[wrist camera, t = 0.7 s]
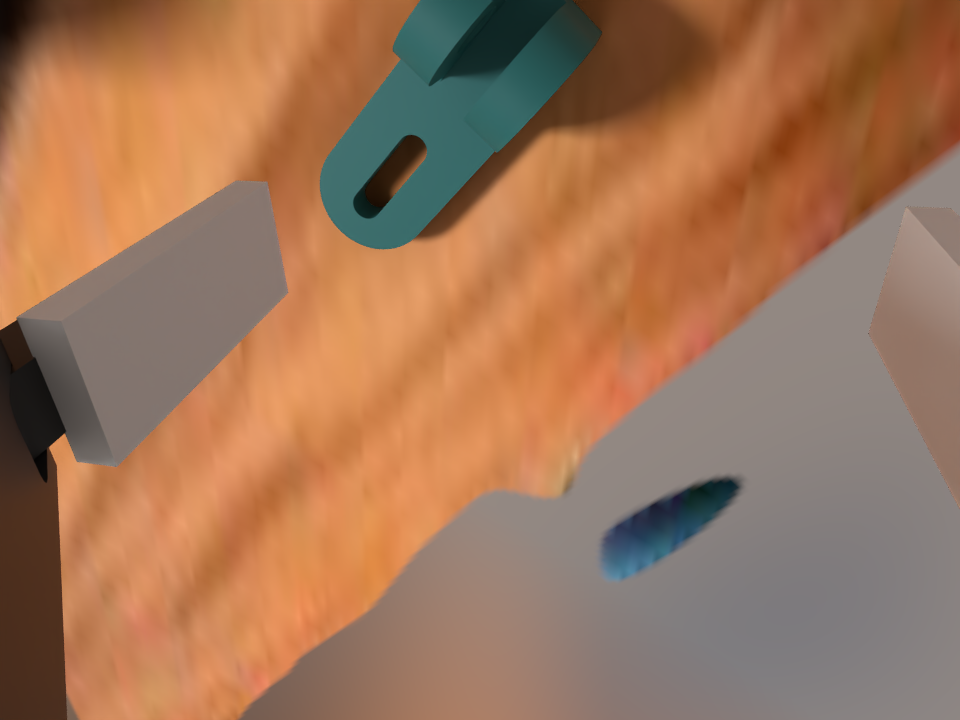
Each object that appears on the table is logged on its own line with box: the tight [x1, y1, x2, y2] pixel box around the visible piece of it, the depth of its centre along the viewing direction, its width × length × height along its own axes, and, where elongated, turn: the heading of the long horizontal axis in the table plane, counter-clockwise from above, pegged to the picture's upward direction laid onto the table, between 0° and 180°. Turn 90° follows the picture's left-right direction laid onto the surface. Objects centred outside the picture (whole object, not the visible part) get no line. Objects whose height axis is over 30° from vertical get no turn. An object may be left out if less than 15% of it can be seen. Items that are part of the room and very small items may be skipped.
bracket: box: [320, 0, 602, 249], centre depth 37 cm, size 18×7×8 cm, turn 138°
